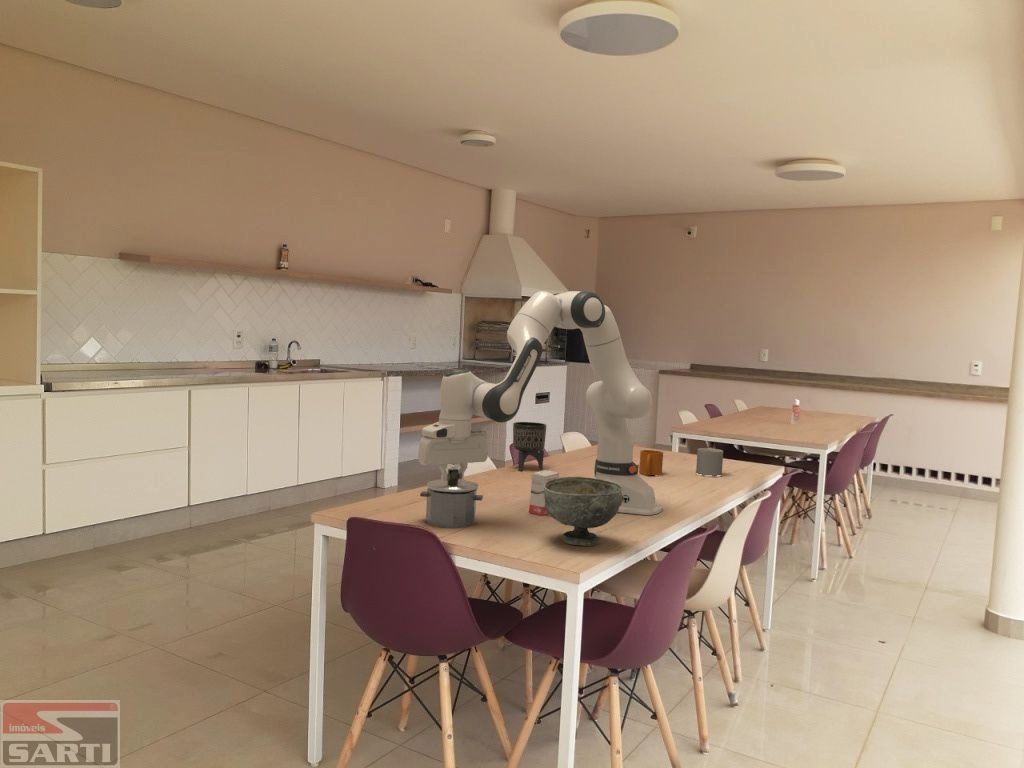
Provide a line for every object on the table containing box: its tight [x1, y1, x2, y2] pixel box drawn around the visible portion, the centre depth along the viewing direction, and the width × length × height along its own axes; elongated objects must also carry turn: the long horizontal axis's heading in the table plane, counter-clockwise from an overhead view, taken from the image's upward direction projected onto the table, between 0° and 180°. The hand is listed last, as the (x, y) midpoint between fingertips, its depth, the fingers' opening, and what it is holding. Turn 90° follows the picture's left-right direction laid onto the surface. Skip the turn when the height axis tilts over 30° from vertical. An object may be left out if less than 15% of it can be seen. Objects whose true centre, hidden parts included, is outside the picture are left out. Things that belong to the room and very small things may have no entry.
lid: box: [426, 469, 479, 494], centre depth 215 cm, size 14×14×6 cm
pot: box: [419, 488, 484, 529], centre depth 215 cm, size 17×13×9 cm
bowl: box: [544, 476, 623, 547], centre depth 201 cm, size 20×19×15 cm
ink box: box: [528, 469, 560, 516], centre depth 232 cm, size 9×5×12 cm, turn 148°
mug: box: [638, 449, 664, 477], centre depth 307 cm, size 9×12×9 cm
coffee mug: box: [695, 447, 724, 476], centre depth 314 cm, size 13×10×10 cm
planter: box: [512, 421, 547, 472], centre depth 305 cm, size 13×13×18 cm
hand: (452, 479), depth 215 cm, fingers closed on lid, 3 cm apart
